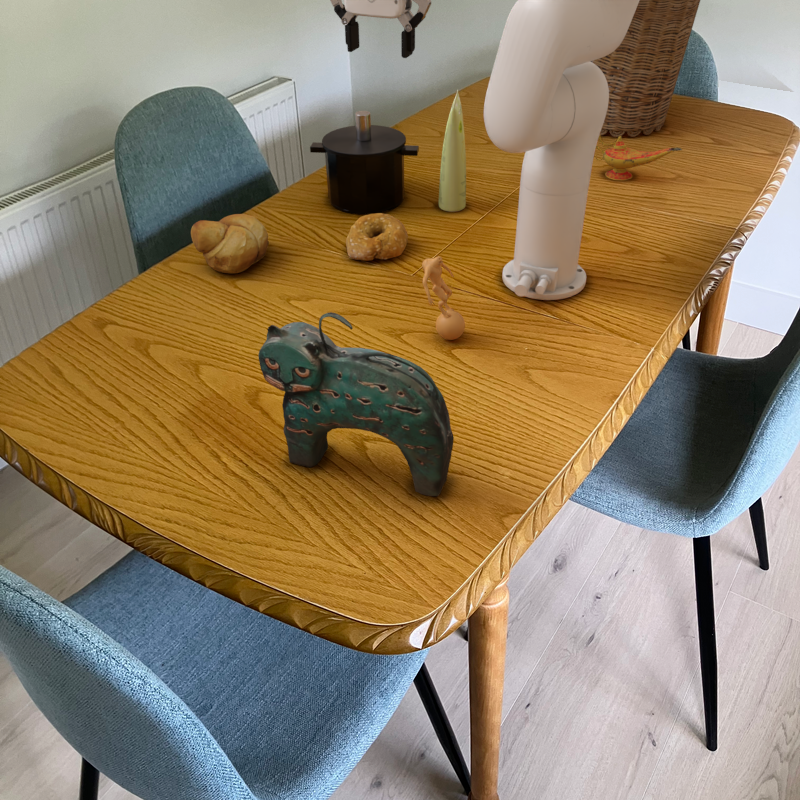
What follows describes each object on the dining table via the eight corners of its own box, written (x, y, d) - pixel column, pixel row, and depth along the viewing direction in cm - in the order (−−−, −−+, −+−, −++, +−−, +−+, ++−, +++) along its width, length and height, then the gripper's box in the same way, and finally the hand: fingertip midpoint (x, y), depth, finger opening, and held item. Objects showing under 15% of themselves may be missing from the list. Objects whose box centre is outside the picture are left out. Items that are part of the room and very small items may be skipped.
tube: (473, 209, 138) (478, 97, 126) (450, 216, 136) (453, 103, 124) (454, 198, 142) (457, 88, 129) (432, 205, 139) (433, 94, 127)
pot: (413, 216, 136) (413, 158, 129) (307, 212, 138) (302, 154, 131) (422, 185, 146) (422, 130, 140) (323, 182, 149) (319, 127, 142)
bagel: (331, 252, 126) (329, 225, 123) (377, 229, 132) (377, 203, 129) (374, 271, 120) (373, 244, 117) (421, 247, 127) (421, 220, 124)
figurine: (453, 356, 102) (456, 276, 94) (411, 347, 104) (410, 268, 96) (473, 324, 108) (476, 247, 100) (432, 316, 110) (433, 239, 102)
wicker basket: (717, 148, 159) (761, -34, 138) (547, 150, 160) (566, -31, 139) (672, 96, 186) (703, -62, 166) (527, 98, 187) (541, -59, 167)
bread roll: (244, 237, 130) (237, 192, 125) (289, 250, 126) (284, 204, 121) (191, 269, 122) (181, 222, 117) (238, 284, 118) (230, 236, 113)
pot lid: (400, 162, 129) (399, 128, 126) (314, 159, 131) (311, 126, 128) (410, 132, 141) (410, 100, 137) (331, 130, 143) (329, 98, 139)
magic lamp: (671, 191, 143) (684, 131, 136) (576, 175, 149) (584, 118, 142) (678, 177, 147) (691, 119, 141) (586, 163, 154) (594, 107, 147)
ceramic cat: (271, 465, 86) (246, 312, 73) (297, 430, 90) (278, 280, 78) (440, 510, 80) (443, 352, 68) (458, 469, 85) (465, 315, 72)
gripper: (314, -68, 115) (322, 53, 126) (421, -62, 110) (420, 64, 121) (337, -75, 121) (343, 42, 131) (440, -69, 115) (437, 52, 126)
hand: (380, 52), depth 126 cm, fingers open, 9 cm apart
